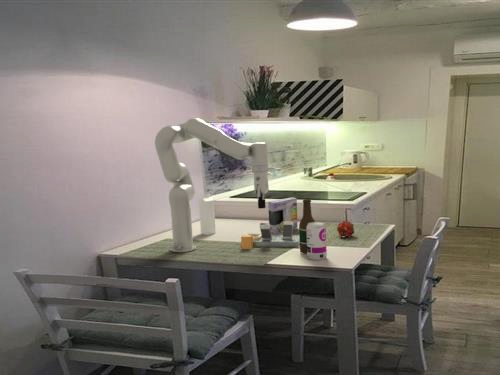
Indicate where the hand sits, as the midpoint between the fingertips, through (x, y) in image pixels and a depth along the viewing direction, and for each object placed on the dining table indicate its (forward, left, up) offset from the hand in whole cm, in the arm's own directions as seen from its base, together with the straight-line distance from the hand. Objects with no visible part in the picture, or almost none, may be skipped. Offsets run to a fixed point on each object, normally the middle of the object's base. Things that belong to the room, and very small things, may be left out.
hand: (261, 208), depth 219 cm
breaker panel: (+11, -2, -20) cm, 22 cm away
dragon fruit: (+28, -37, -20) cm, 50 cm away
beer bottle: (-4, -22, -20) cm, 30 cm away
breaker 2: (+9, -10, -16) cm, 21 cm away
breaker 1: (+9, 0, -16) cm, 19 cm away
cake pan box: (+41, -2, -20) cm, 46 cm away
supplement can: (-14, -27, -20) cm, 36 cm away
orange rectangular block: (+1, +8, -20) cm, 21 cm away
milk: (+32, +39, -20) cm, 54 cm away
